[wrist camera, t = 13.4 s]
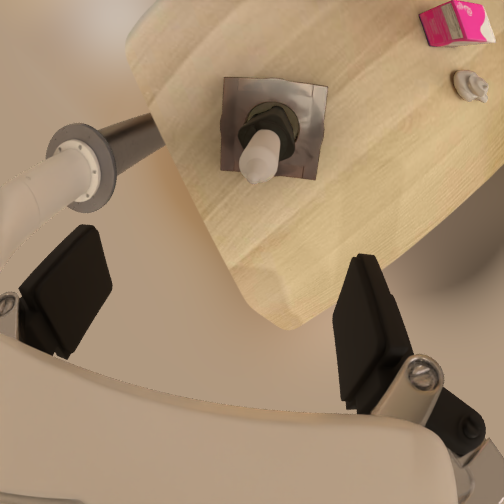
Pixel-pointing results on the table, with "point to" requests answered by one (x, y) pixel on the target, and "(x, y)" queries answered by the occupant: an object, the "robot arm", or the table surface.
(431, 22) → the supplement box
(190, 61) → the table surface
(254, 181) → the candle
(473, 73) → the white animal figurine
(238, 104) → the hole plate
